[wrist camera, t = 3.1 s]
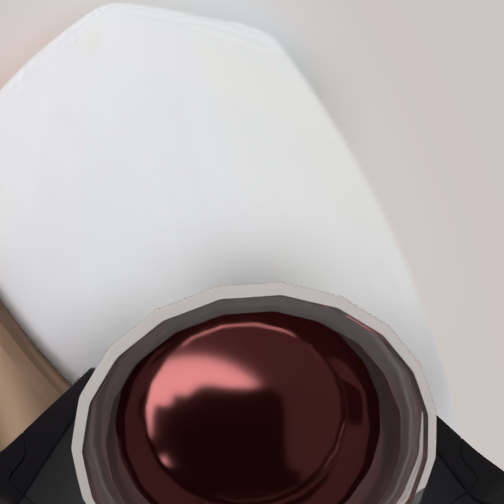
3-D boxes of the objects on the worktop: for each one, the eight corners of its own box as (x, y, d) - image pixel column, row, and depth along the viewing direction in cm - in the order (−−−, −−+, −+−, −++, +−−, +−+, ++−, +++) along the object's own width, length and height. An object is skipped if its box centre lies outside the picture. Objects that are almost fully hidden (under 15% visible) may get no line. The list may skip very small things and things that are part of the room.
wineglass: (228, 301, 17) (243, 198, 6) (323, 379, 16) (486, 411, 5) (145, 392, 15) (13, 458, 4) (243, 469, 14) (281, 625, 3)
